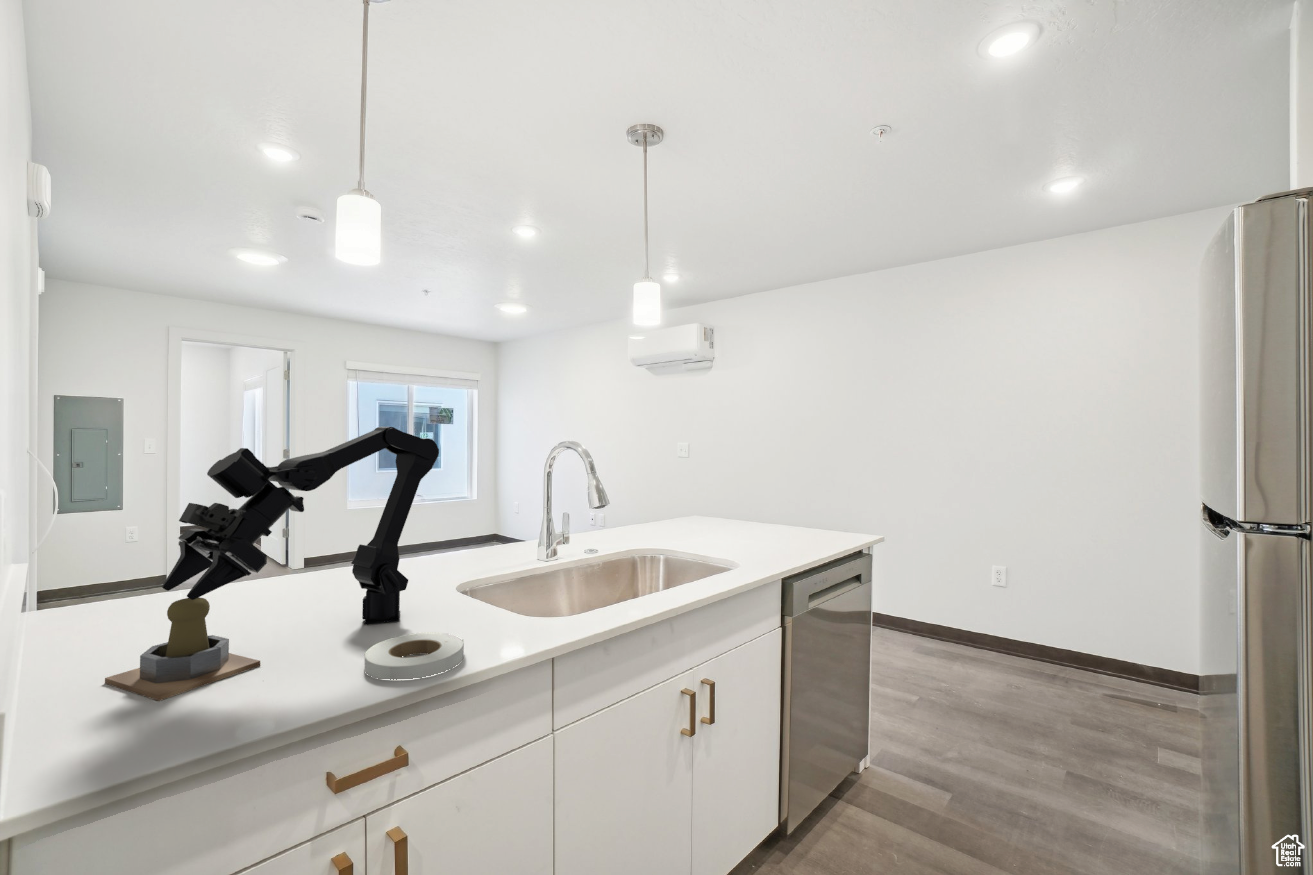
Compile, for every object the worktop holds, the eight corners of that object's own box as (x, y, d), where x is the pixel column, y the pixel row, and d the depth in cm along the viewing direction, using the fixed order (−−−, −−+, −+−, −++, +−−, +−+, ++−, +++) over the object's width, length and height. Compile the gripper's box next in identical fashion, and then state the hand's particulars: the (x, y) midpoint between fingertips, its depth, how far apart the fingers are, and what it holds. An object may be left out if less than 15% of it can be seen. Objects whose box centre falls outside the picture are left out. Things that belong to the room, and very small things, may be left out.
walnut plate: (207, 652, 99) (207, 647, 99) (260, 665, 94) (260, 660, 94) (104, 683, 86) (104, 677, 86) (159, 700, 81) (159, 695, 81)
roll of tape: (387, 692, 85) (387, 673, 85) (350, 664, 96) (350, 646, 96) (480, 664, 97) (481, 647, 97) (438, 641, 107) (438, 626, 107)
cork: (218, 666, 91) (220, 597, 91) (171, 679, 86) (173, 606, 86) (202, 658, 94) (203, 592, 94) (155, 670, 89) (157, 600, 89)
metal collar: (201, 653, 96) (202, 632, 96) (239, 663, 93) (240, 641, 93) (128, 675, 87) (129, 652, 87) (167, 687, 83) (167, 663, 83)
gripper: (194, 481, 98) (107, 555, 89) (246, 487, 89) (155, 571, 79) (245, 522, 105) (168, 595, 95) (298, 531, 95) (220, 614, 86)
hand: (176, 593), depth 89 cm, fingers open, 9 cm apart
